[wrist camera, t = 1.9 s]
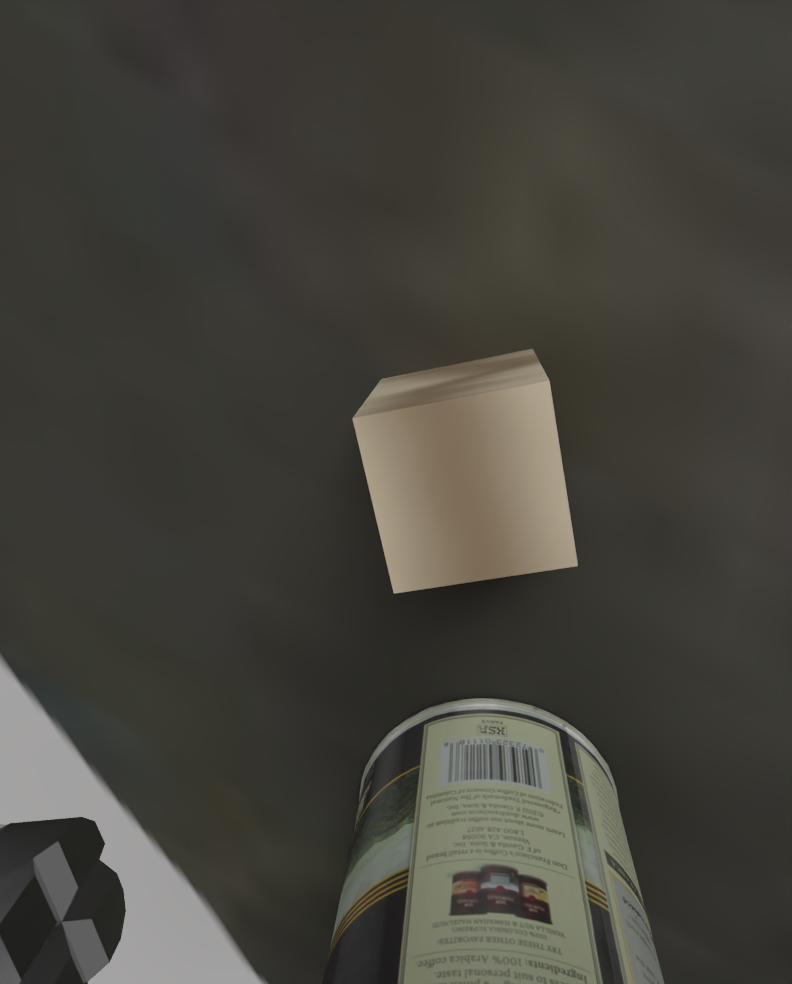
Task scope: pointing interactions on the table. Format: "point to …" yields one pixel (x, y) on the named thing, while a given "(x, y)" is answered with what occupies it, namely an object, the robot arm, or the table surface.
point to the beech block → (466, 473)
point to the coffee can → (489, 858)
